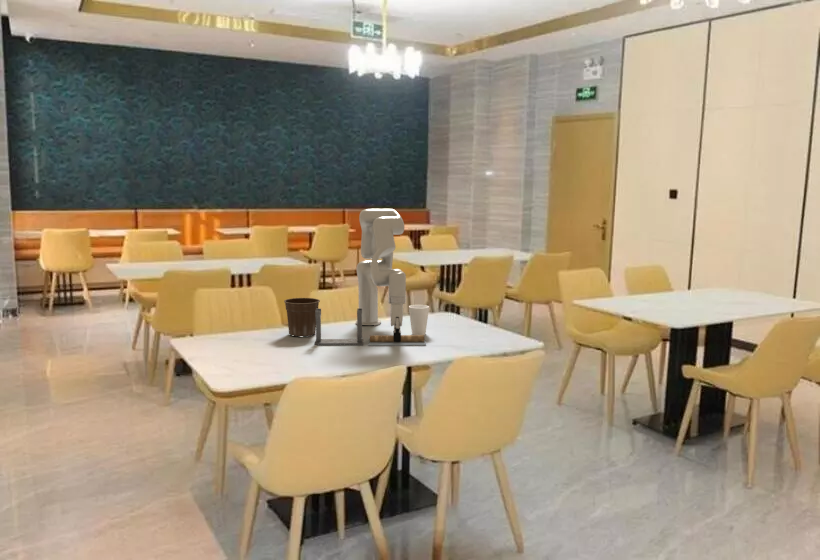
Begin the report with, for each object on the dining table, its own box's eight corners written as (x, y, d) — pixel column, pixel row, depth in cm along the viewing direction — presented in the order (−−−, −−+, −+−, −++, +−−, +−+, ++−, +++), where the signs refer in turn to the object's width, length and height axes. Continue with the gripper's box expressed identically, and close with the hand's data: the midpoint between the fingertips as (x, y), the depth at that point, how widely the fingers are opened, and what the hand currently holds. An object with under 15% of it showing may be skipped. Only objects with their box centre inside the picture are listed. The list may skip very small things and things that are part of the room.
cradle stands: (316, 341, 318) (315, 308, 316) (363, 341, 319) (363, 308, 317) (314, 345, 310) (313, 311, 308) (362, 345, 311) (362, 311, 309)
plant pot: (311, 329, 343) (310, 296, 340) (326, 335, 329) (325, 301, 327) (279, 333, 334) (278, 299, 332) (293, 340, 321) (292, 304, 318)
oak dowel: (369, 342, 314) (369, 336, 313) (369, 341, 317) (369, 334, 316) (424, 342, 314) (424, 335, 314) (424, 340, 317) (424, 334, 317)
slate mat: (369, 340, 320) (369, 338, 320) (424, 339, 321) (424, 338, 321) (368, 346, 310) (368, 344, 310) (426, 345, 311) (426, 344, 310)
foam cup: (428, 336, 329) (429, 308, 327) (408, 336, 329) (408, 308, 327) (428, 331, 338) (428, 304, 336) (409, 331, 339) (409, 304, 337)
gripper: (388, 296, 321) (388, 336, 323) (388, 303, 304) (388, 345, 307) (405, 296, 321) (404, 336, 324) (406, 303, 305) (406, 345, 307)
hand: (397, 340), depth 315 cm, fingers open, 3 cm apart
